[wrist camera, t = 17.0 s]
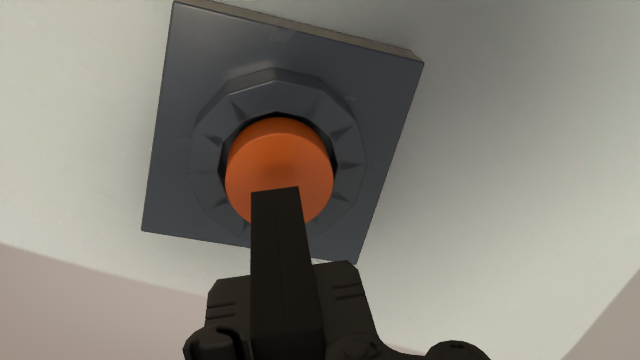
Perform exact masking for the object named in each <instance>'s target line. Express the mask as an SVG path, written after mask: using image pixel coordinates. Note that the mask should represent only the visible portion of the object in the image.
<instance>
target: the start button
mask: <svg viewBox="0 0 640 360" xmlns="http://www.w3.org/2000/svg"><path fill="white" fill-rule="evenodd" d="M333 181H334V179H333V171H332V167H331V163H330V160H329V157H328V154H327V150H326V148H325V145H324V143H323V141H322V139H321V138H320V137H319V135H318V134H317V133H316V132H315V131H314V130H313V129H312V128H310V127H309V126H307V125H306V124H304V123H302V122H300V121H297V120H294V119H291V118H285V117H272V118H266V119H262V120H259V121H257V122H255V123H253V124H251V125H249V126H248V127H246V128H245V129H244V130H243V131H241V132H240V133H239V135H238V136H237V137H236V138H235V140H234V141H233V143H232V145H231V147H230V150H229V153H228V158H227V167H226V175H225V188H226V193H227V196H228V199H229V201H230V203H231V205H232V206H233V208H234V209H235V210H236V212H237V213H238V214H239V215H240V216H241V217H243V218H244V219H245V220H247V221H248V222H250V223H251V192H256V191H263V190H271V189H278V188H286V187H293V186H299V192H300V198H301V204H302V210H303V216H304V221H305V223H307V222H309V221H310V220H312V219H313V218H314V217H316V216H317V215H318V214H319V213H320V212H321V211H322V210H323V208H324V207H325V206H326V204H327V202H328V200H329V199H330V196H331V193H332V189H333Z"/></svg>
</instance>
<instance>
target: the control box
mask: <svg viewBox="0 0 640 360" xmlns="http://www.w3.org/2000/svg"><path fill="white" fill-rule="evenodd" d="M424 64H425V63H424V62H423V61H422V60H421V59H420V58H419V57H418V56H417V55H415V54H414V53H413V52H412V51H411V50H408V49H404V48H400V47H396V46H392V45H388V44H383V43H379V42H375V41H371V40H367V39H363V38H359V37H355V36H351V35H347V34H343V33H339V32H335V31H331V30H327V29H323V28H319V27H315V26H311V25H307V24H303V23H299V22H295V21H291V20H287V19H283V18H279V17H275V16H271V15H267V14H263V13H259V12H255V11H251V10H247V9H243V8H239V7H235V6H231V5H227V4H222V3H218V2H214V1H210V0H174V1H173V3H172V10H171V17H170V25H169V32H168V39H167V46H166V53H165V60H164V67H163V75H162V82H161V89H160V96H159V103H158V110H157V118H156V125H155V132H154V139H153V146H152V153H151V160H150V168H149V175H148V182H147V189H146V196H145V203H144V211H143V218H142V225H141V231H144V232H151V233H157V234H163V235H170V236H176V237H182V238H189V239H195V240H201V241H208V242H214V243H221V244H227V245H233V246H240V247H246V248H251V223H250V222H248V221H247V220H245V219H244V218H243V217H241V216H240V215H239V214H238V213H237V212H236V210H235V209H234V208H233V206H232V205H231V203H230V201H229V199H228V196H227V193H226V188H225V175H226V167H227V158H228V153H229V150H230V147H231V145H232V143H233V141H234V140H235V138H236V137H237V136H238V135H239V133H240V132H241V131H243V130H244V129H245V128H246V127H248V126H249V125H251V124H253V123H255V122H257V121H259V120H262V119H266V118H272V117H285V118H291V119H294V120H297V121H300V122H302V123H304V124H306V125H307V126H309V127H310V128H312V129H313V130H314V131H315V132H316V133H317V134H318V135H319V137H320V138H321V139H322V141H323V143H324V145H325V148H326V150H327V154H328V157H329V160H330V163H331V167H332V171H333V179H334V181H333V189H332V193H331V196H330V199H329V200H328V202H327V204H326V206H325V207H324V208H323V210H322V211H321V212H320V213H319V214H318V215H317V216H316V217H314V218H313V219H312V220H310V221H309V222H307V223H305V227H306V233H307V239H308V245H309V251H310V257H311V258H316V259H322V260H329V261H342V260H348V261H349V262H350V263H351V264H354V265H355V264H357V261H358V258H359V255H360V252H361V249H362V246H363V243H364V240H365V237H366V235H367V232H368V229H369V226H370V223H371V220H372V217H373V214H374V211H375V208H376V205H377V202H378V199H379V196H380V193H381V191H382V188H383V185H384V182H385V179H386V176H387V173H388V170H389V167H390V164H391V161H392V158H393V155H394V152H395V149H396V147H397V144H398V141H399V138H400V135H401V132H402V129H403V126H404V123H405V120H406V117H407V114H408V111H409V108H410V106H411V103H412V100H413V97H414V94H415V91H416V88H417V85H418V82H419V79H420V76H421V73H422V70H423V67H424Z"/></svg>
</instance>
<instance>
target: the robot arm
mask: <svg viewBox="0 0 640 360" xmlns="http://www.w3.org/2000/svg"><path fill="white" fill-rule="evenodd" d="M205 319H206V321H205V325H204V327H203V328H201V329H199V330H197V331H196V332H194V333H193V334H192V335H191V336H190V337H189V338H188V339H187V340H186V342H185V345H184V347H183V353H184V357H185V360H491V359H490V358H489V357H488V356H487V355H486V354H485V353H484V352H483V351H481V350H480V349H479V348H478V347H476V346H475V345H472V344H469V343H467V342H464V341H455V340H450V341H444V342H440V343H438V344H436V345H434V346H433V347H431V348H430V349H429V351H428V352H427V354H426V355H425V356H420V355H410V354H405V353H400V352H398V351H395V350H393V349H391V348H389V347H388V346H386V345H385V344H384V343H383V342H382V341H381V340H380V338H379V336H378V334H377V331H376V328H375V325H374V321H373V318H372V315H371V311H370V308H369V305H368V301H367V298H366V296H365V291H364V288H363V285H362V281H361V278H360V274H359V271H358V269H357V268H356V267H355V266H353V265H352V264H351V263H350V262H349V261H348V260H342V261H335V262H328V263H321V264H314V265H312V262H311V257H310V251H309V245H308V239H307V233H306V227H305V221H304V216H303V210H302V204H301V198H300V192H299V186H293V187H286V188H278V189H271V190H263V191H256V192H251V258H250V275H246V276H239V277H232V278H225V279H218V280H217V281H216V282H215V284H214V285H213V287H212V288H211V290H210V291H209V292H208V299H207V309H206V317H205Z"/></svg>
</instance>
